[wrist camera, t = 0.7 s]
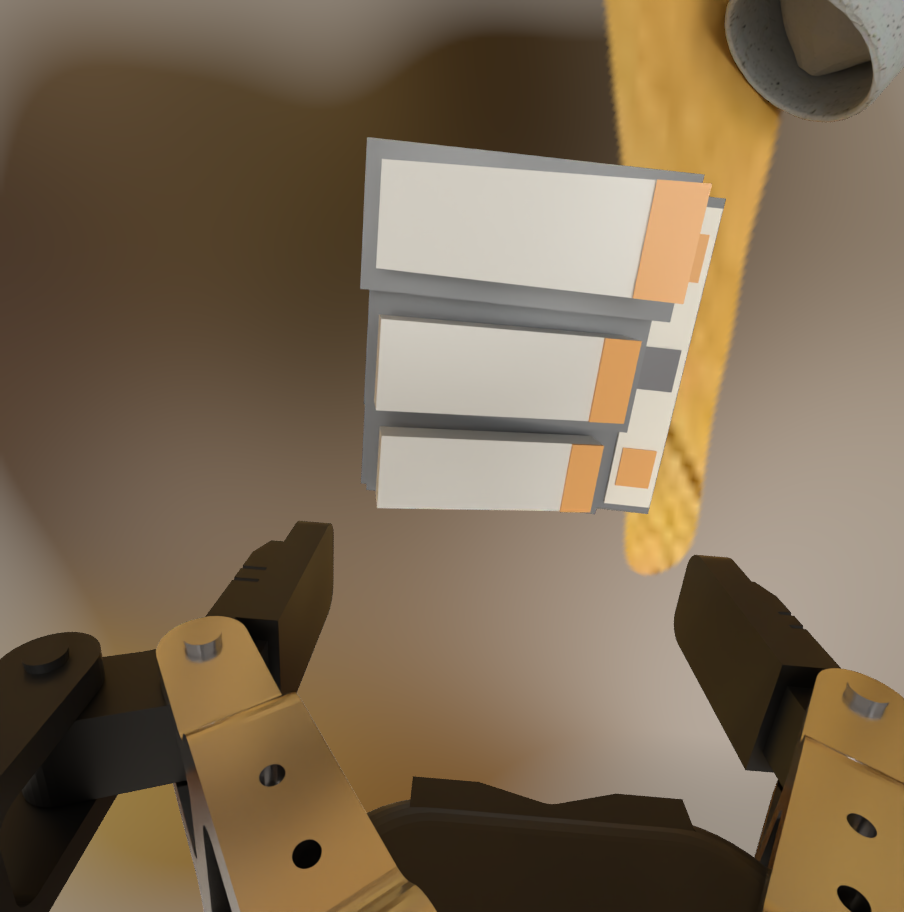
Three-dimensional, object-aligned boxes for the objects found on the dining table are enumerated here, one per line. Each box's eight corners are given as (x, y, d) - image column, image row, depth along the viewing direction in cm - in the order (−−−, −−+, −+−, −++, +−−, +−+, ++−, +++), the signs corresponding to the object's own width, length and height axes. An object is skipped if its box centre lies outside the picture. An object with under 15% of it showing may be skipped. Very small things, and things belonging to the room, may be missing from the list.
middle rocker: (379, 314, 25) (381, 319, 23) (624, 335, 27) (641, 341, 26) (374, 400, 26) (376, 411, 24) (608, 413, 28) (623, 423, 27)
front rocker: (395, 166, 23) (380, 158, 21) (702, 190, 20) (711, 183, 19) (389, 268, 24) (374, 268, 22) (676, 301, 22) (683, 304, 20)
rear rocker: (379, 426, 29) (381, 436, 27) (590, 435, 32) (604, 446, 30) (375, 495, 30) (377, 509, 29) (578, 499, 33) (590, 512, 31)
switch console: (381, 163, 29) (349, 129, 22) (716, 201, 29) (805, 180, 22) (364, 476, 35) (334, 537, 28) (642, 505, 36) (690, 575, 28)
